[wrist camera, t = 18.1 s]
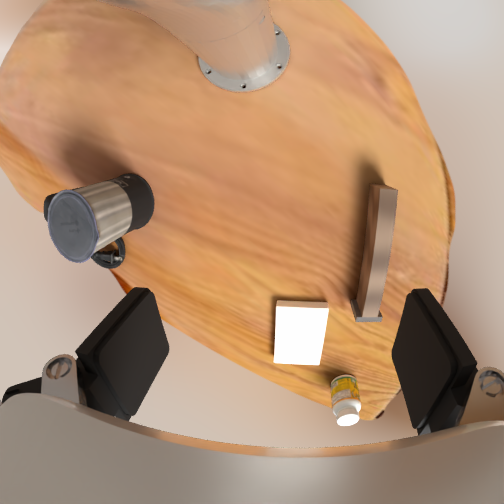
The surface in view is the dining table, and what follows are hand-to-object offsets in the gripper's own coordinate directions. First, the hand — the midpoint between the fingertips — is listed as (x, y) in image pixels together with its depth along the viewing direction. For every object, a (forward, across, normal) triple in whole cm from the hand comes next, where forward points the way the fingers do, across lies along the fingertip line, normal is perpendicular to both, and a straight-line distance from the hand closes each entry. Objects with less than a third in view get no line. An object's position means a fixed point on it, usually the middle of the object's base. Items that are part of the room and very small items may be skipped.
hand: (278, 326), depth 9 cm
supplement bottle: (+28, -11, +37) cm, 47 cm away
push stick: (+29, -12, +8) cm, 32 cm away
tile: (+28, -2, +18) cm, 33 cm away
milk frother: (+30, +27, +4) cm, 40 cm away
